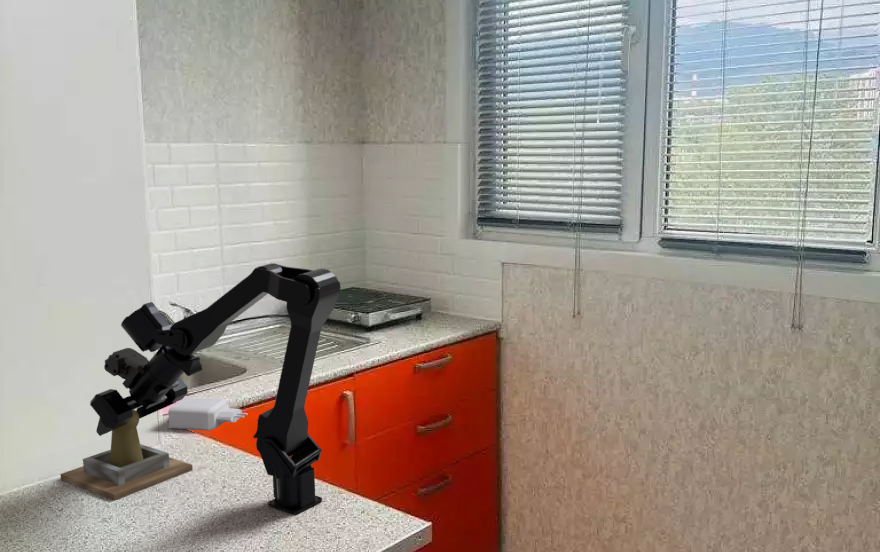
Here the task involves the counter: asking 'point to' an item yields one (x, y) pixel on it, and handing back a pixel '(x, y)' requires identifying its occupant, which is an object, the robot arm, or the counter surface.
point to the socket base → (125, 473)
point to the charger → (202, 413)
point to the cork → (126, 443)
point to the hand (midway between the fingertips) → (117, 425)
